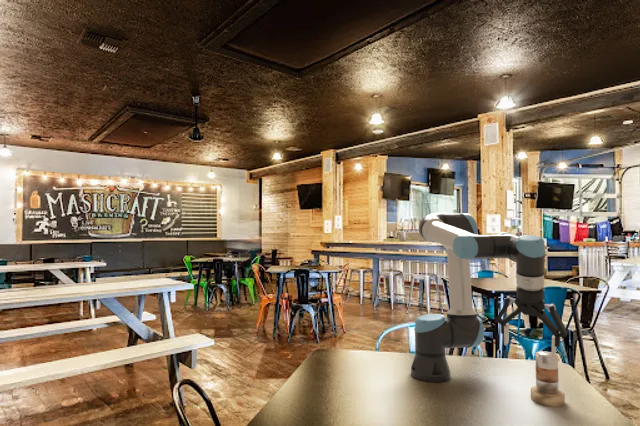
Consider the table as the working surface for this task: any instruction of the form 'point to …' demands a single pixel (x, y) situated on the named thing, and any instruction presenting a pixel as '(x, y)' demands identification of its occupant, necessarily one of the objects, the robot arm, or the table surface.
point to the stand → (548, 398)
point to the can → (546, 373)
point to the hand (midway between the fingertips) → (529, 348)
